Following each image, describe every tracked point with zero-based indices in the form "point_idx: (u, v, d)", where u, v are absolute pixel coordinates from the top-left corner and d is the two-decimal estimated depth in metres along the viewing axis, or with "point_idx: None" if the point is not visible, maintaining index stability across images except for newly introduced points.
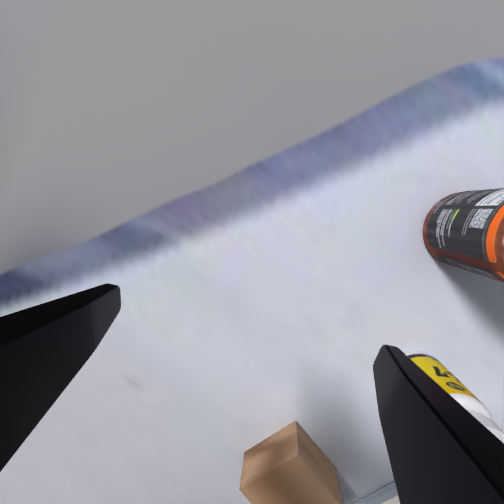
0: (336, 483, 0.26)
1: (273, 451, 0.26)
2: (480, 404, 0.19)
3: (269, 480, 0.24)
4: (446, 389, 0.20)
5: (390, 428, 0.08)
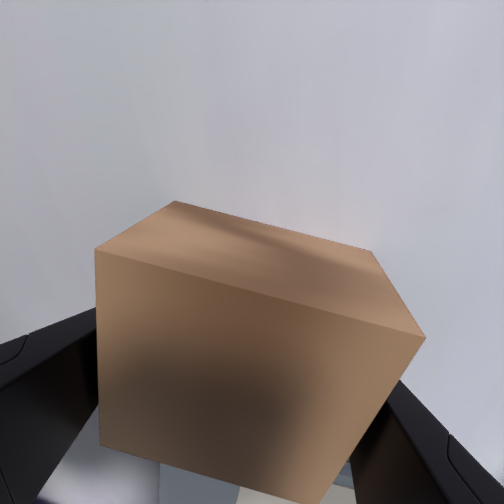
0: None
1: (285, 259, 0.07)
2: None
3: (230, 317, 0.06)
4: None
5: None
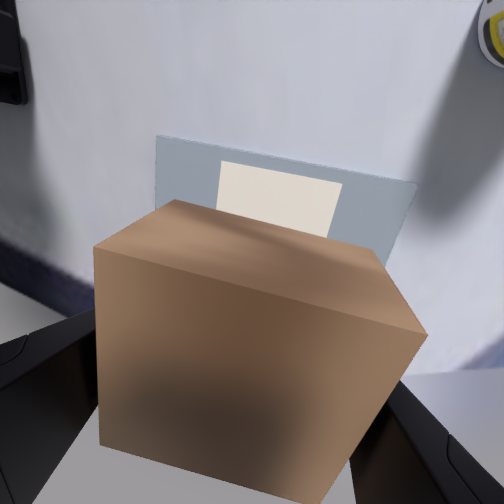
0: None
1: (286, 256, 0.07)
2: None
3: (230, 315, 0.06)
4: None
5: None
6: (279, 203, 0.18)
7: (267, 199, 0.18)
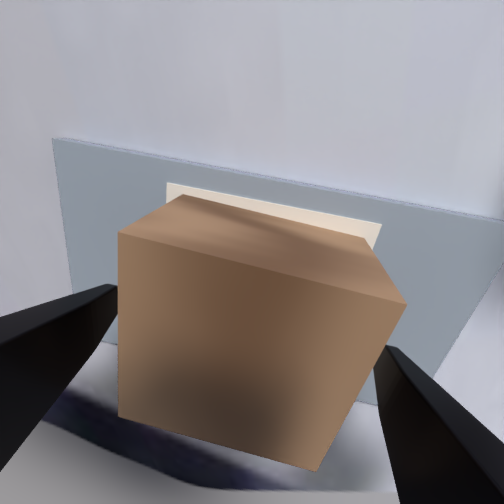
0: None
1: (285, 242, 0.08)
2: None
3: (236, 290, 0.06)
4: None
5: (390, 428, 0.08)
6: None
7: None
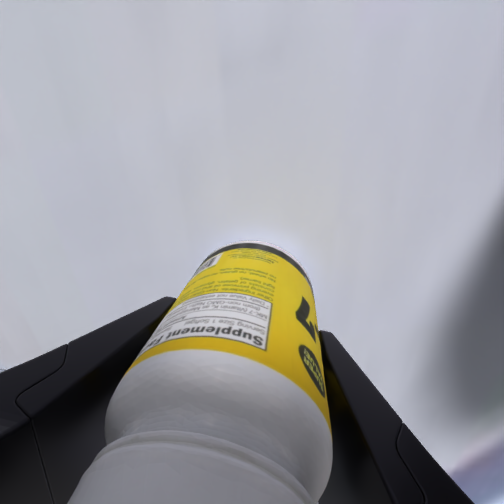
0: None
1: None
2: (329, 462, 0.05)
3: None
4: (288, 359, 0.05)
5: None
6: None
7: None
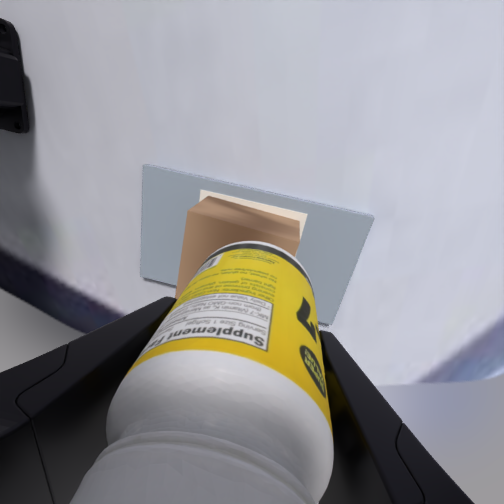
0: None
1: (256, 219, 0.17)
2: (330, 462, 0.05)
3: (234, 236, 0.16)
4: (289, 359, 0.05)
5: None
6: None
7: None
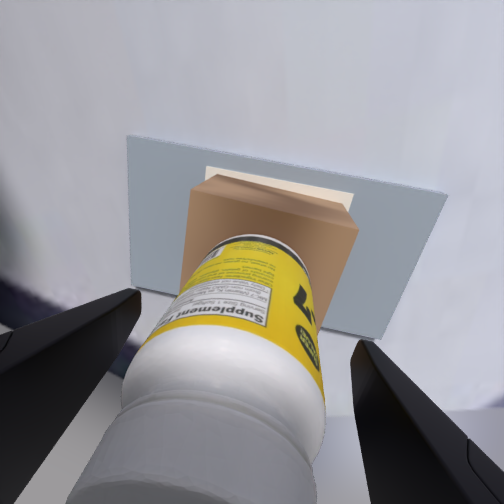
0: None
1: (288, 201, 0.12)
2: (322, 426, 0.06)
3: (260, 224, 0.11)
4: (285, 335, 0.06)
5: (362, 422, 0.08)
6: None
7: None
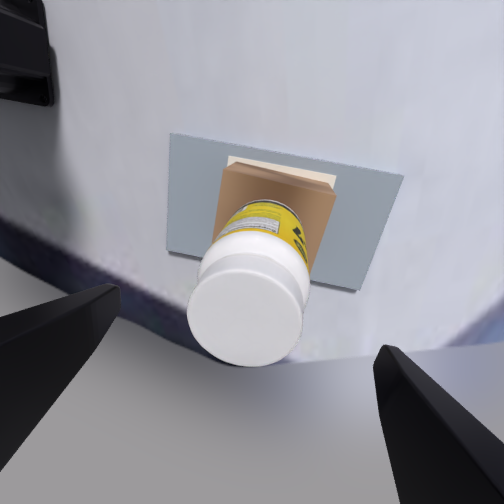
0: None
1: (289, 179, 0.17)
2: (308, 285, 0.11)
3: (269, 193, 0.16)
4: (288, 239, 0.11)
5: (390, 428, 0.08)
6: None
7: None
